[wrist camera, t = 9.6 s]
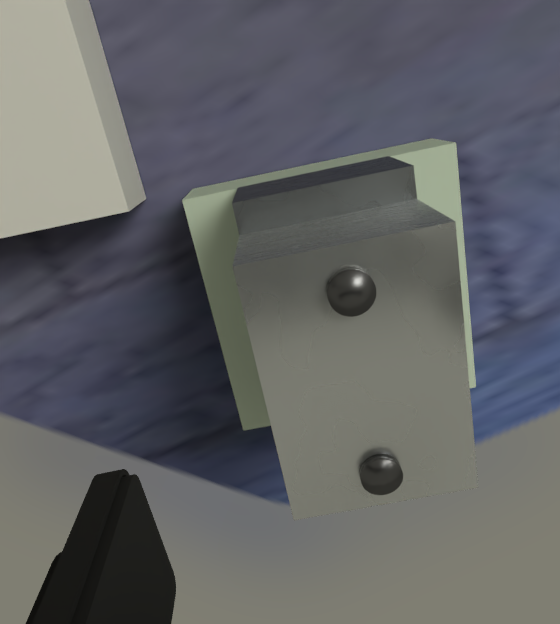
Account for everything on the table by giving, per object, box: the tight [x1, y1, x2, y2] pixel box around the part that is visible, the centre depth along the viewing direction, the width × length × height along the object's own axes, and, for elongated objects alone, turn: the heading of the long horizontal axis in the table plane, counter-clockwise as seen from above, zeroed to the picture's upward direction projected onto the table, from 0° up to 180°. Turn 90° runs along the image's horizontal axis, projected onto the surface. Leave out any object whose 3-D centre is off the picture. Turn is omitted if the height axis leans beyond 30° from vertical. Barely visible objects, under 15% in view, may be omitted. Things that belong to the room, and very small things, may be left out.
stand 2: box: [182, 139, 476, 431], centre depth 22 cm, size 10×10×3 cm
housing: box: [232, 156, 478, 520], centre depth 18 cm, size 10×6×7 cm, turn 11°
